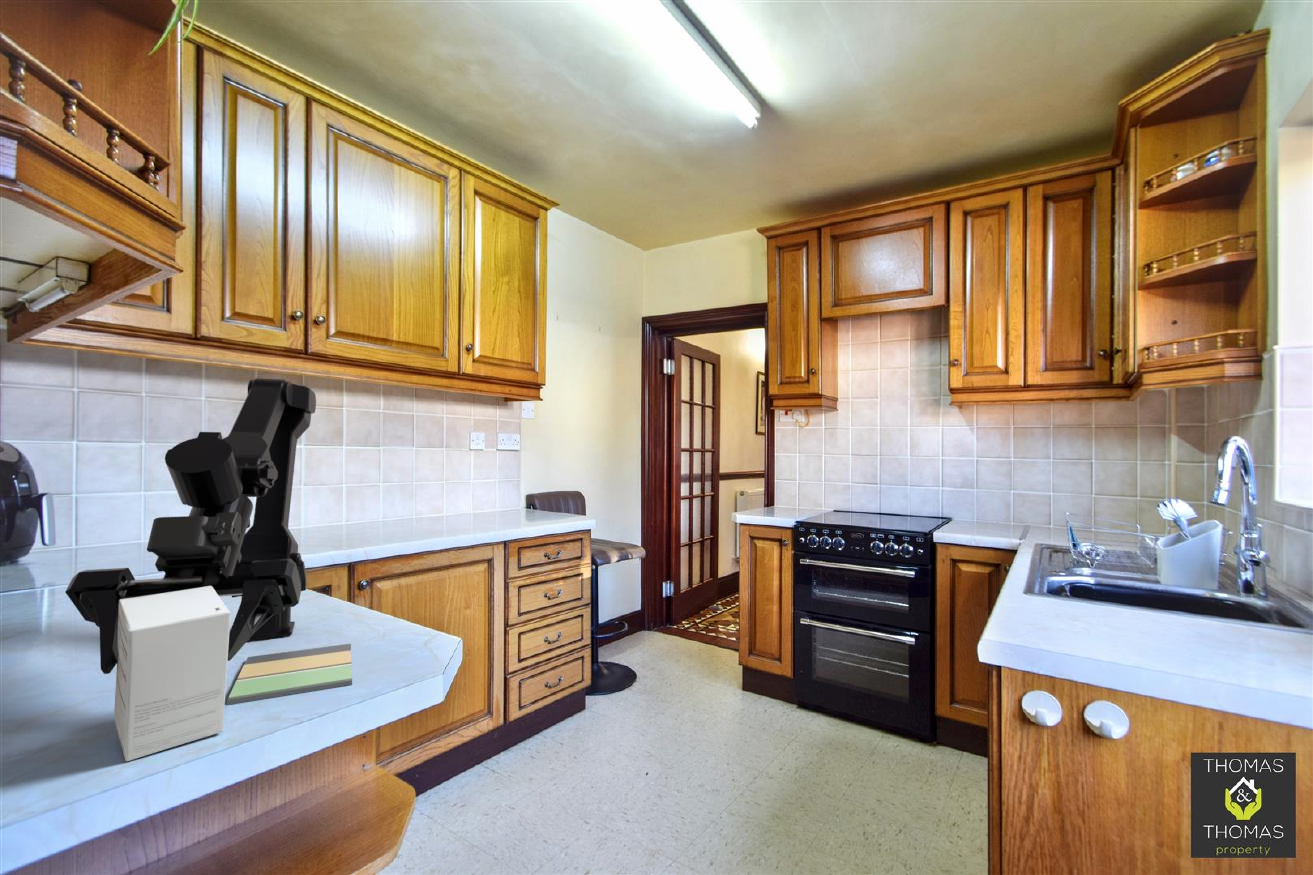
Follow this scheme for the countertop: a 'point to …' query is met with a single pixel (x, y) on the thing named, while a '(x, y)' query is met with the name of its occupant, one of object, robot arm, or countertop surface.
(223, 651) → the supplement box
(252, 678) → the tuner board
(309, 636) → the countertop surface
